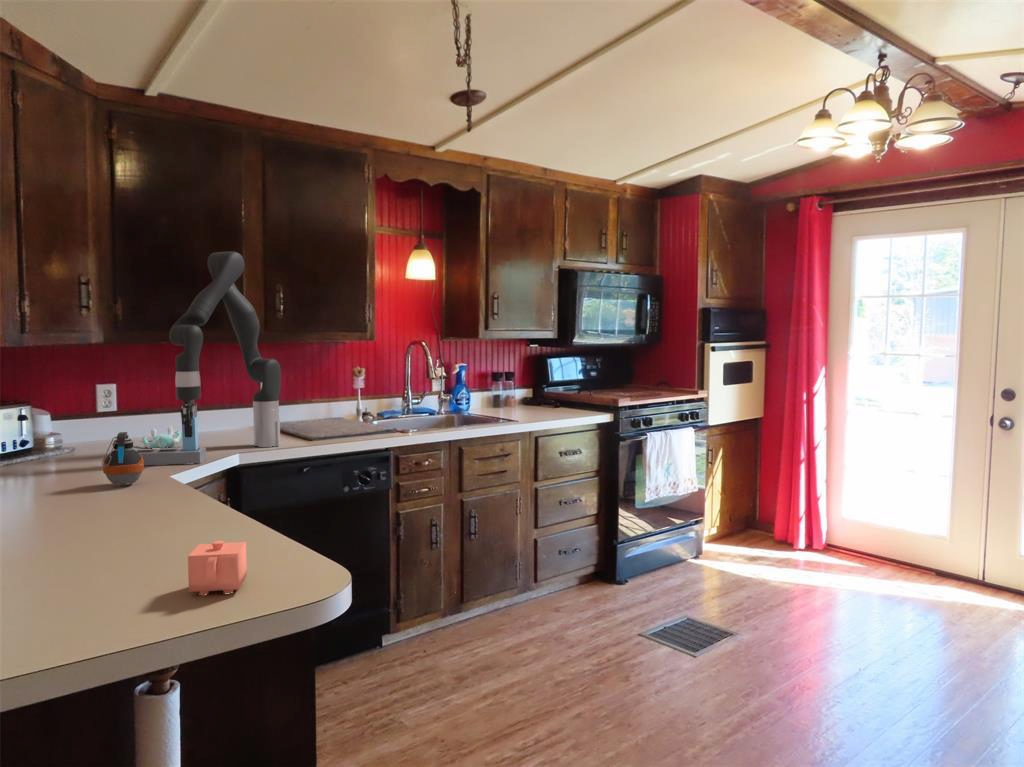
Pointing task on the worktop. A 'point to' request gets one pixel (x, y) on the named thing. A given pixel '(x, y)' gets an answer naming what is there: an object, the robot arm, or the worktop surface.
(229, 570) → the pink cube teapot
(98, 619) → the worktop surface
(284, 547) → the worktop surface
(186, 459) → the panel
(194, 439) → the plug
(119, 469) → the grenade
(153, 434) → the figurine
